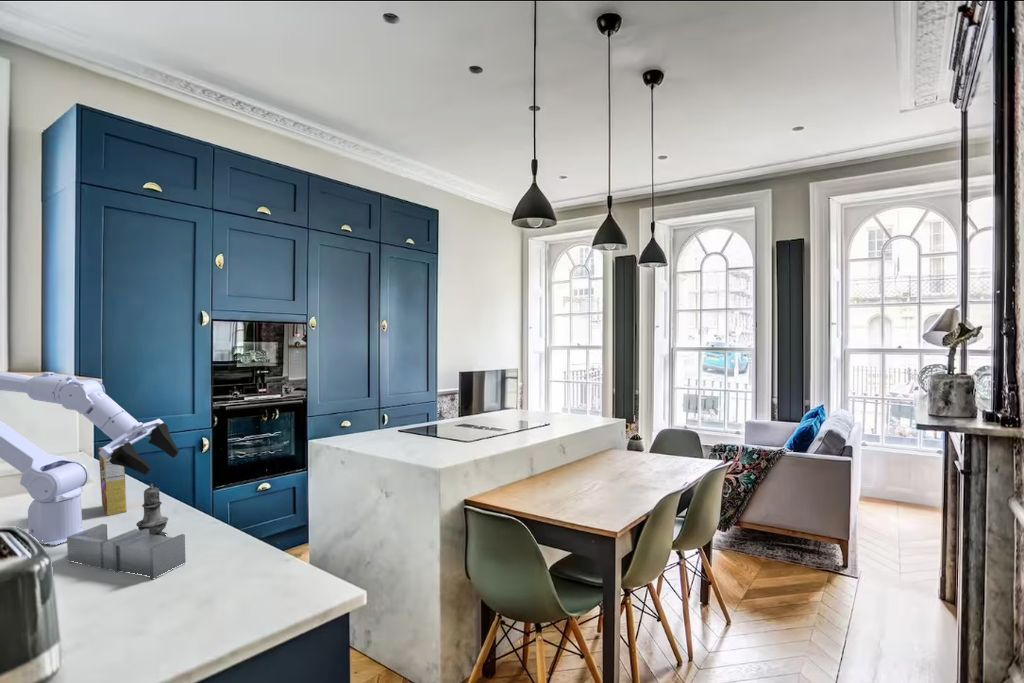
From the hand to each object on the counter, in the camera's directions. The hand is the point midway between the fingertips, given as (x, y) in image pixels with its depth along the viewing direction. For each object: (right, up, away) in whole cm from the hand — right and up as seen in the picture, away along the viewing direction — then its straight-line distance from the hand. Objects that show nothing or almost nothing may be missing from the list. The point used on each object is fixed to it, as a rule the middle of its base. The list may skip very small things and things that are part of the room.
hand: (163, 462), depth 119 cm
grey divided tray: (0, -17, -11) cm, 20 cm away
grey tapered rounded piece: (-3, -17, +1) cm, 17 cm away
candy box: (-24, -16, +18) cm, 33 cm away
